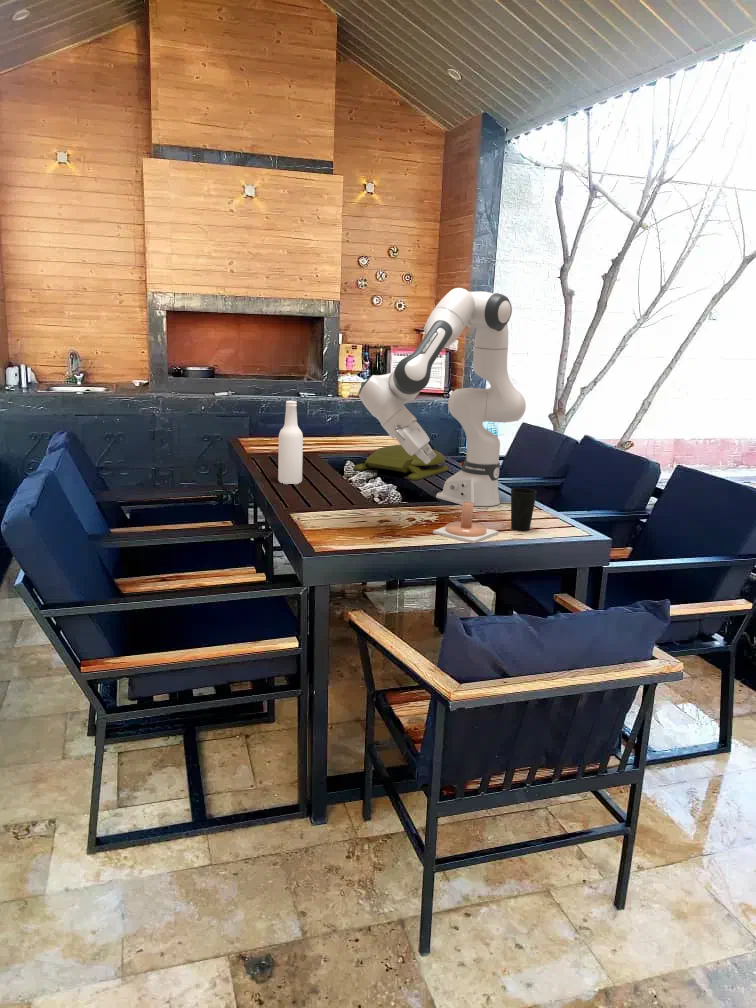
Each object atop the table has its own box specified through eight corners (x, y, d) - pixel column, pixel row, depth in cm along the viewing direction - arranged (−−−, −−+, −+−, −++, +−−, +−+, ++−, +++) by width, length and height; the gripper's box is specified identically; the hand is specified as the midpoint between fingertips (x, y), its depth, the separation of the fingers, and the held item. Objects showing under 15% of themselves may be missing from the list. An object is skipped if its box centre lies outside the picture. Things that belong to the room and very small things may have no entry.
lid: (437, 530, 223) (439, 502, 221) (459, 523, 232) (461, 496, 230) (472, 539, 216) (474, 510, 214) (493, 531, 225) (496, 503, 223)
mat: (432, 533, 223) (432, 530, 223) (458, 524, 234) (458, 522, 234) (473, 543, 215) (473, 540, 215) (498, 533, 226) (498, 531, 226)
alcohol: (299, 479, 287) (300, 399, 280) (304, 484, 279) (305, 402, 272) (276, 480, 285) (277, 399, 278) (280, 485, 277) (281, 402, 270)
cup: (537, 531, 230) (541, 493, 227) (514, 532, 228) (518, 493, 225) (525, 524, 237) (529, 487, 234) (503, 525, 235) (506, 487, 232)
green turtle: (416, 482, 294) (417, 457, 291) (350, 471, 309) (351, 447, 307) (457, 469, 322) (458, 446, 320) (395, 459, 338) (396, 437, 336)
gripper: (401, 420, 211) (434, 458, 211) (414, 414, 230) (444, 448, 230) (385, 435, 213) (417, 472, 213) (399, 427, 232) (429, 462, 232)
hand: (431, 460), depth 222 cm, fingers open, 8 cm apart
